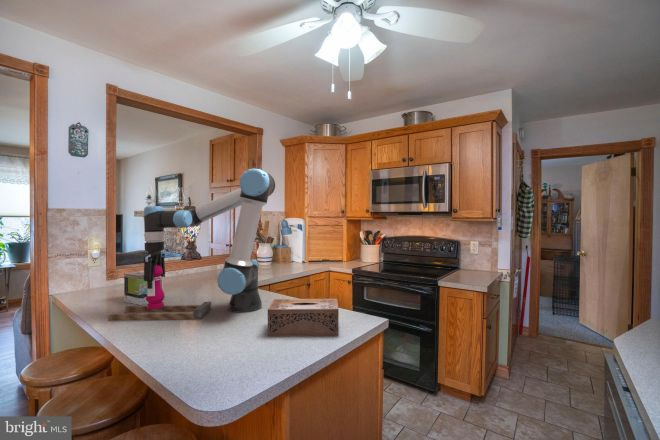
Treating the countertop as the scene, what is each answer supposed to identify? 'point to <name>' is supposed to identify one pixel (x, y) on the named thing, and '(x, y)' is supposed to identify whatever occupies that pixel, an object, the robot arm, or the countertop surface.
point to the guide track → (197, 315)
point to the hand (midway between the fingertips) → (155, 293)
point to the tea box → (135, 288)
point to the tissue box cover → (303, 317)
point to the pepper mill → (156, 291)
